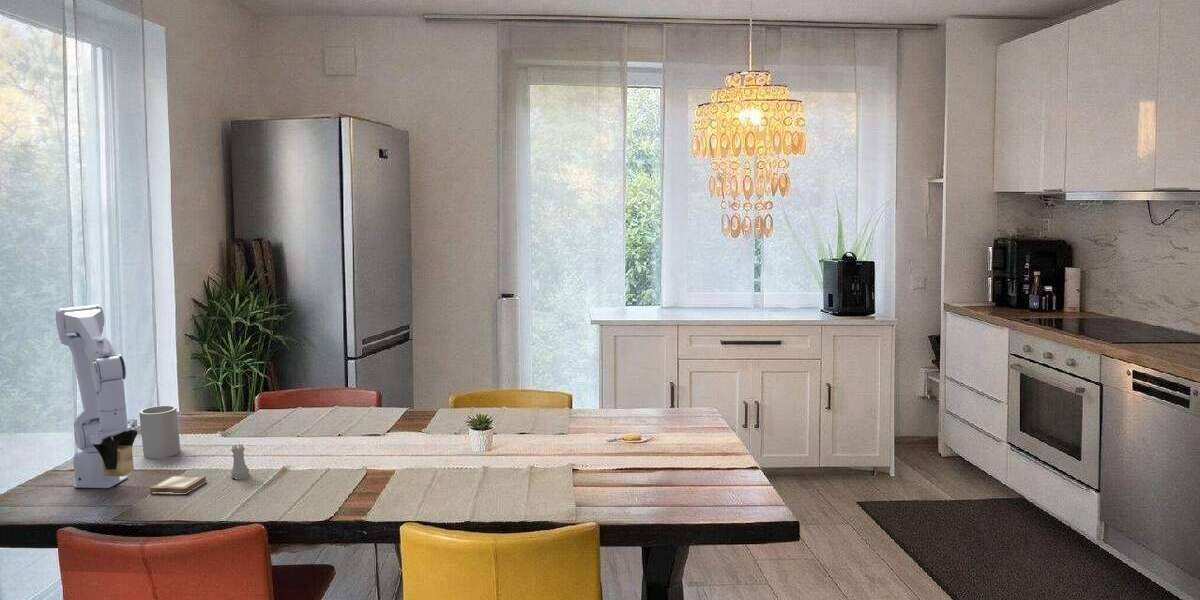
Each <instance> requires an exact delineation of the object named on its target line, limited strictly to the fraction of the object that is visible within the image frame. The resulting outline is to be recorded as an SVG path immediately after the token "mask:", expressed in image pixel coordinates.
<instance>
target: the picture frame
mask: <svg viewBox="0 0 1200 600" xmlns="http://www.w3.org/2000/svg"><path fill="white" fill-rule="evenodd" d="M206 477H207V476H206V475H170V476H168V477H166V478H165V479H163V480H162V481H159V482H158V483H156V484H154V485H152V486H151V487H150V488H149V490H150V494H151V493H152V492H173V493H187V492H188V491H190V490H192V489H193V488H195V487H197V486H198V485H200V484H202V483H204V482H205V481H206V482H207V478H206ZM204 484H205V483H204ZM202 485H203V484H202Z"/></svg>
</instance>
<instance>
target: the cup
mask: <svg viewBox="0 0 1200 600" xmlns="http://www.w3.org/2000/svg"><path fill="white" fill-rule="evenodd" d="M138 413H139V420H140V421H139V423H140V431H141V442H142V453H143V457H144V458H147V459H163V458H167V457H173V456H174V455H177V454H179V453H180V452H181V442H180V431H179V419H178V409H177V406H175V405H170V404H169V405H154V406H150V407H146V408H142V409H141V410H139V412H138Z"/></svg>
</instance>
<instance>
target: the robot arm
mask: <svg viewBox="0 0 1200 600" xmlns="http://www.w3.org/2000/svg"><path fill="white" fill-rule="evenodd" d="M104 314H105V313H104V309H103V307H102V306H101V305H100V304H98V303H96V304H92V305H81V306H74V307H64V308H61V307H60V308H59V307H58V308H57V310H56V311H55V324H56V328H57V335H58V337H59V340H60V343H61V344H62V345H64V346H67V347H68V348H69V350H70V353H71V355H72V359H73V362H74V370H75V373H76V378H77V384H78V388H79V393H80V398H81V403H82V408H83V411H82V412H81V413H80V414H79V415H77V416H76V417H75V419H74V421H73V428H74V434H73V435H74V440H75V444H76V447H77V449H78V450H76V451H75V453H74V456H73V459H72V460H73V461H72V462H73V472H74V480H75V484H74V485H73V488H79V489H80V488H83V489H93V488H94V489H110V488H112V487H114V486H115V485H117V484H119V483H122V482H123V481H125V480H127V479H128V478H129V476H128V475H124V476H122V477H119V476H104V469H103V462H104V464H105V467H106V469H109V470H115V469H116V467H117V449H118V445H130V446H132V447H133V445H134V443H135V439H136V437H137V435H138V430H136V429H133V428H138V419H137V418H128V414H127V405H126V396H125V395H126V394H125V382H124V380H126V378H127V377H126V376H127V368H126V364H125V360H124V357H123V355H122V354H119V353H116V352H115V349H114V348H113V346H112V343H111V342H110V340H109V339H108V338H105V337H103V336H102V335H103V332H104V331H103V330H104V326H105V315H104Z"/></svg>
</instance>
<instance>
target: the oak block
mask: <svg viewBox="0 0 1200 600" xmlns="http://www.w3.org/2000/svg"><path fill="white" fill-rule="evenodd" d="M103 469H104V476H119V477H122V476H127V475H128V474H130V473H132V472H133V471H135V468H134V457H133V446H130V445H118V449H117V467H116V469H115V470H109V469H106V467H105V464H104V462H103Z"/></svg>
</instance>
